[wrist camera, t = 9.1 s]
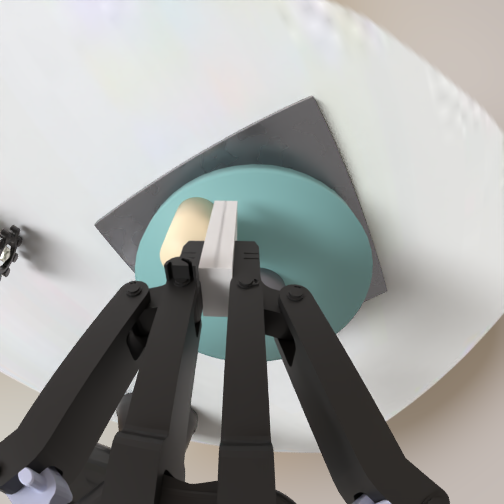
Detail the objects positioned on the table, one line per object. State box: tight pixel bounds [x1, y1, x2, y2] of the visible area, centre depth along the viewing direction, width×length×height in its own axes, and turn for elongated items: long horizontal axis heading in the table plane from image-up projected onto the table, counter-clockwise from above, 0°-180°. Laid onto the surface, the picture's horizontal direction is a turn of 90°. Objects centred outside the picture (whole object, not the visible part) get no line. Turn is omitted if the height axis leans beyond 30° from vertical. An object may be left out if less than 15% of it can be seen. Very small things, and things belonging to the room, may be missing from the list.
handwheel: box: [135, 164, 373, 361], centre depth 23 cm, size 20×20×7 cm
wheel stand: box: [95, 96, 387, 302], centre depth 27 cm, size 22×22×3 cm
